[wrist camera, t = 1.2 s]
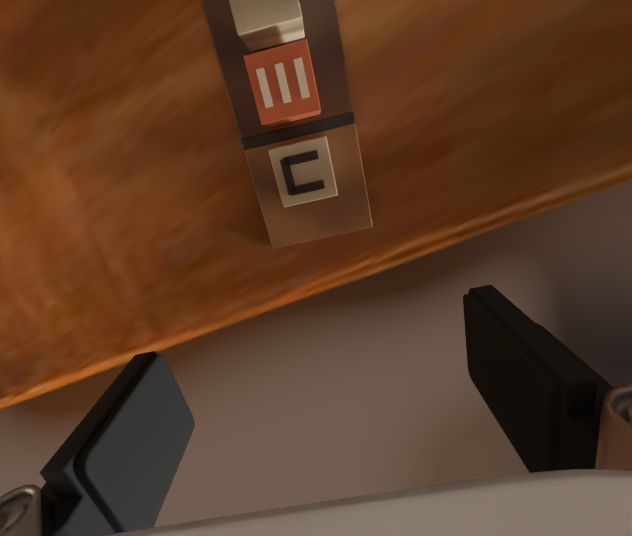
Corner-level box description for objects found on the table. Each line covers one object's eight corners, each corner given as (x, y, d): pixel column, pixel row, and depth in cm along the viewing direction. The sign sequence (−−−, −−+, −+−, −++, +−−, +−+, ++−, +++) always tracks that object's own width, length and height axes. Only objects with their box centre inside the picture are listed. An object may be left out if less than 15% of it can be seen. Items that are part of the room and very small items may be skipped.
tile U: (275, 148, 27) (267, 150, 23) (324, 136, 26) (326, 136, 22) (288, 197, 28) (283, 208, 24) (335, 186, 28) (338, 195, 24)
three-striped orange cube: (255, 69, 25) (242, 55, 21) (308, 55, 24) (306, 38, 20) (270, 126, 26) (261, 124, 22) (320, 114, 26) (321, 109, 22)
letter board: (198, -15, 23) (195, -19, 23) (324, -52, 23) (324, -57, 22) (273, 247, 30) (272, 249, 30) (372, 225, 30) (373, 227, 29)
